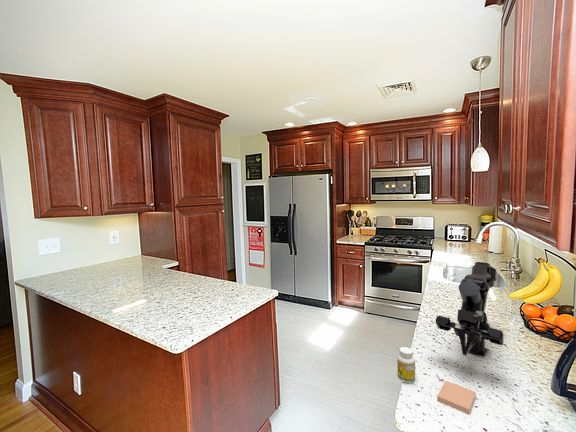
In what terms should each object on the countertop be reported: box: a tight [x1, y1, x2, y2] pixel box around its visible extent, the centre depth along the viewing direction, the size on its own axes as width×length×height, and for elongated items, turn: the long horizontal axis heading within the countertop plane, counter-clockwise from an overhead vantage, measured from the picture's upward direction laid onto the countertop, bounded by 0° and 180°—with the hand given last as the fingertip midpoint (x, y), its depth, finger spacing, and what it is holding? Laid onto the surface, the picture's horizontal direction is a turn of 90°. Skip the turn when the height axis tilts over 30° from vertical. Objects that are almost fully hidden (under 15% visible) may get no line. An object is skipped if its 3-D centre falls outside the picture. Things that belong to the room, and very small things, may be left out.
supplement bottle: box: [396, 346, 416, 384], centre depth 92 cm, size 5×5×10 cm
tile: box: [436, 380, 477, 415], centre depth 82 cm, size 2×8×9 cm
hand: (464, 354), depth 90 cm, fingers closed
